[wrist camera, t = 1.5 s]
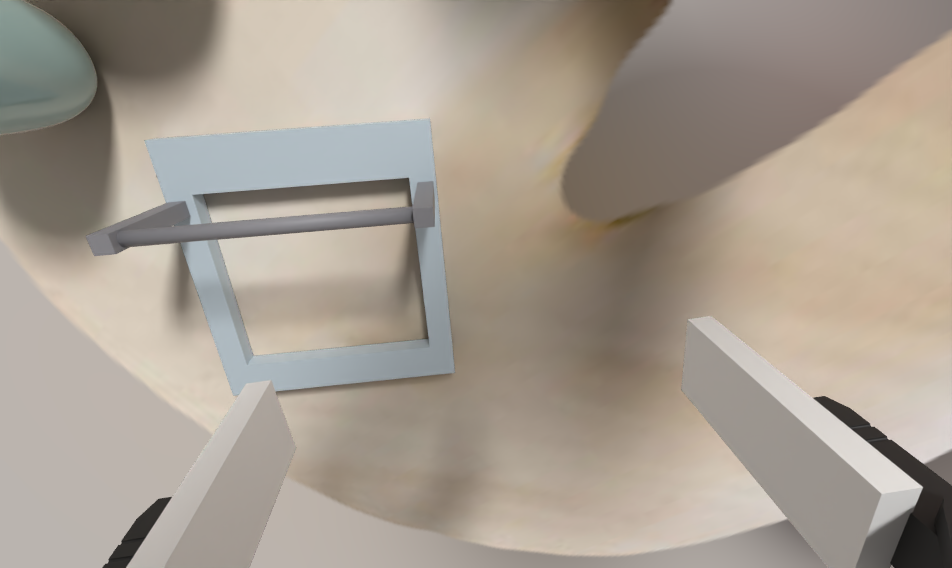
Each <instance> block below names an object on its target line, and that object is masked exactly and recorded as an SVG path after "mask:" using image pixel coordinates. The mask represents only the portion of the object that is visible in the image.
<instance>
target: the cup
mask: <svg viewBox="0 0 952 568" xmlns="http://www.w3.org/2000/svg"><path fill="white" fill-rule="evenodd" d="M97 85H98V83H97V74H96V70H95V67H94V64H93V62H92V60H91V58H90V56H89V54H88V52H87V51H86V49H85V48H84V46H83V45H82V43H81V42H80V41H79V40H78V39H77V38H76V36H75V35H74V34H73V33H72V32H71V31H70V30H69V29H68V28H67V27H66V26H65V25H64V24H63V23H62V22H60V21H59V20H57V19H56V18H55V17H53V16H52V15H50V14H49V13H47V12H46V11H45V10H43V9H41V8H39V7H37V6H35V5H33V4H31V3H29V2H27V1H25V0H0V135H8V134H16V133H22V132H28V131H34V130H39V129H44V128H49V127H52V126H56V125H58V124H61V123H63V122H66V121H68V120H71V119H73V118H74V117H76V116H77V115H79V114H80V113H82V112H83V111H84V110H86V108H87V107H88V106H89V105H90V104H91V102H92V100H93V98H94V96H95V94H96V90H97Z"/></svg>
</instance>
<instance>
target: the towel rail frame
mask: <svg viewBox="0 0 952 568" xmlns="http://www.w3.org/2000/svg"><path fill="white" fill-rule="evenodd" d="M144 141H145V144H146V147H147V149H148V152H149V155H150V158H151V161H152V164H153V167H154V169H155V172H156V175H157V178H158V181H159V184H160V187H161V190H162V192H163V195H164V198H165V201H166V204H163V205H161V206H158V207H156V208H153V209H151V210H148V211H146V212H143V213H141V214H139V215H136V216H134V217H131V218H129V219H126V220H124V221H121V222H119V223H116V224H114V225H111V226H109V227H106V228H104V229H102V230H99V231H97V232H94V233H92V234H89V235H87V236H86V238H87V241H88V243H89V245H90V247H91V250H92V252H93V254H94V256H100V255H112V254H117V253H119V252H121V251H123V250H125V249H127V248H129V247H136V246H147V245H159V244H171V243H180V244H181V247H182V250H183V253H184V255H185V258H186V261H187V264H188V267H189V270H190V273H191V275H192V278H193V281H194V284H195V287H196V290H197V293H198V296H199V298H200V301H201V304H202V307H203V310H204V313H205V316H206V318H207V321H208V324H209V327H210V330H211V333H212V336H213V339H214V341H215V344H216V347H217V350H218V353H219V356H220V359H221V361H222V364H223V367H224V370H225V373H226V376H227V379H228V382H229V384H230V387H231V390H232V393H233V396H235V395H239V394H240V392H241V391H242V389H243V388H244V386H245V385H246V384H247V383H254V382H261V381H267V380H271V381H272V383H273V386H274V389H275V391H283V390H293V389H303V388H312V387H322V386H332V385H342V384H351V383H361V382H371V381H380V380H390V379H400V378H409V377H419V376H429V375H438V374H448V373H455V367H454V356H453V346H452V336H451V326H450V316H449V306H448V295H447V285H446V275H445V265H444V255H443V245H442V235H441V225H440V215H439V204H438V194H437V184H436V174H435V164H434V154H433V144H432V134H431V124H430V119H418V120H404V121H390V122H376V123H362V124H348V125H335V126H321V127H307V128H293V129H279V130H266V131H252V132H238V133H224V134H210V135H197V136H183V137H169V138H156V139H150V140H144ZM398 178H409V182H410V190H411V198H412V207H399V208H387V209H375V210H363V211H351V212H339V213H327V214H315V215H303V216H291V217H279V218H267V219H254V220H242V221H230V222H218V223H212V222H211V218H210V215H209V212H208V209H207V206H206V202H205V199H204V196H203V194H209V193H222V192H234V191H247V190H259V189H272V188H285V187H297V186H310V185H323V184H335V183H348V182H360V181H373V180H386V179H398ZM407 223H414V227H415V231H416V239H417V247H418V255H419V263H420V271H421V279H422V287H423V296H424V304H425V312H426V320H427V328H428V336H429V339H421V340H411V341H401V342H391V343H381V344H371V345H360V346H350V347H340V348H330V349H320V350H310V351H300V352H290V353H279V354H269V355H259V356H253V353H252V350H251V346H250V343H249V340H248V337H247V334H246V330H245V327H244V324H243V321H242V318H241V314H240V311H239V308H238V305H237V302H236V298H235V295H234V292H233V289H232V286H231V282H230V279H229V276H228V273H227V270H226V266H225V263H224V260H223V257H222V254H221V250H220V247H219V244H218V241H217V240H218V239H230V238H242V237H254V236H265V235H277V234H289V233H301V232H313V231H324V230H336V229H348V228H360V227H372V226H383V225H395V224H407ZM173 225H174V226H173Z"/></svg>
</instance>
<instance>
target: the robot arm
mask: <svg viewBox="0 0 952 568" xmlns="http://www.w3.org/2000/svg"><path fill="white" fill-rule="evenodd" d="M681 390H682V391H683V393H684V394H685V395H686V396H687V397H688V399H689V400H690V401H691V402H692V403H693V405H694V406H695V407H696V408H697V409H698V411H699V412H700V413H701V414H702V416H703V417H704V418H705V419H706V420H707V422H708V423H709V424H710V425H711V426H712V428H713V429H714V430H715V431H716V432H717V434H718V435H719V436H720V437H721V439H722V440H723V441H724V442H725V443H726V445H727V446H728V447H729V448H730V449H731V451H732V452H733V453H734V454H735V455H736V457H737V458H738V459H739V460H740V461H741V463H742V464H743V465H744V466H745V468H746V469H747V470H748V471H749V472H750V474H751V475H752V476H753V477H754V478H755V480H756V481H757V482H758V483H759V484H760V486H761V487H762V488H763V489H764V491H765V492H766V493H767V494H768V495H769V497H770V498H771V499H772V500H773V501H774V503H775V504H776V505H777V506H778V507H779V509H780V510H781V511H782V512H783V513H784V515H785V516H786V517H787V518H788V520H789V521H790V522H791V523H792V524H793V526H794V527H795V528H796V529H797V530H798V532H799V533H800V534H801V535H802V536H803V538H804V539H805V540H806V541H807V542H808V544H809V545H810V546H811V547H812V549H813V550H814V551H815V552H816V553H817V555H818V556H819V557H820V558H821V559H822V561H823V562H824V563H825V564H826V565H827V567H828V568H890V567H891V565H893V567H894V568H952V486H951V485H950V484H949V483H948V482H946V481H945V480H944V479H942V478H941V477H940V476H938V475H937V474H936V473H934V472H933V471H932V470H930V469H929V468H928V467H926V466H925V465H924V464H923V463H921V462H920V461H919V460H917V459H916V458H915V457H913V456H912V455H911V454H909V453H908V452H907V451H905V450H904V449H903V448H902V447H900V446H899V445H898V444H896V443H895V442H894V441H892V440H888V439H887V436H886V435H884V434H883V433H882V432H881V431H879V430H878V429H877V428H875V427H871V426H870V423H869V422H867V421H866V420H865V419H863V418H862V417H861V416H860V415H858V414H857V413H856V412H854V411H853V410H852V409H850V408H849V407H846V406H844V405H842V404H840V403H838V402H836V401H834V400H832V399H830V398H828V397H826V396H822V397H815V398H812V397H811V396H810V395H808V394H807V393H806V392H805V391H803V390H802V389H801V388H800V387H798V386H797V385H796V384H795V383H794V382H792V381H791V380H790V379H789V378H787V377H786V376H785V375H784V374H782V373H781V372H780V371H779V370H777V369H776V368H775V367H774V366H773V365H771V364H770V363H769V362H768V361H766V360H765V359H764V358H763V357H761V356H760V355H759V354H758V353H756V352H755V351H754V350H753V349H752V348H750V347H749V346H748V345H747V344H745V343H744V342H743V341H742V340H740V339H739V338H738V337H737V336H735V335H734V334H733V333H732V332H731V331H729V330H728V329H727V328H726V327H724V326H723V325H722V324H721V323H719V322H718V321H717V320H716V319H714V318H713V317H712V316H707V317H700V318H693V319H688V321H687V332H686V343H685V354H684V365H683V377H682V388H681ZM295 450H296V445H295V443H294V440H293V437H292V435H291V432H290V429H289V427H288V424H287V421H286V418H285V416H284V413H283V410H282V408H281V405H280V402H279V400H278V397H277V394H276V391H275V389H274V386H273V383H272V381H271V380H267V381H261V382H254V383H247V384H246V385H245V386H244V388H243V389H242V391H241V392H240V394H239V395H238V397H237V398H236V400H235V402H234V403H233V405H232V406H231V408H230V409H229V411H228V412H227V414H226V415H225V417H224V418H223V420H222V421H221V423H220V425H219V426H218V428H217V429H216V431H215V432H214V434H213V435H212V437H211V438H210V440H209V441H208V443H207V444H206V446H205V448H204V449H203V451H202V452H201V454H200V455H199V457H198V458H197V460H196V461H195V463H194V464H193V466H192V468H191V469H190V471H189V472H188V474H187V475H186V477H185V478H184V480H183V481H182V483H181V484H180V486H179V488H178V489H177V491H176V492H175V494H174V495H173V497H168V498H162V499H158V500H157V501H156V502H155V503H154V504H152V505H151V506H150V507H149V508H148V509H147V510H146V511H145V512H144V513H143V514H142V515H141V516H139V517H138V518H137V519H136V521H135V522H134V524H133V525H132V527H131V528H130V530H129V531H128V532H127V534H126V535H125V536H124V538H123V540H122V544H121V545H118V547H117V548H116V549H115V551H114V552H113V554H112V555H111V556H110V558H109V562H108V564H105V565H104V566H103V568H249V567H250V565H251V562H252V560H253V557H254V555H255V552H256V549H257V547H258V544H259V542H260V539H261V537H262V534H263V531H264V529H265V527H266V524H267V521H268V519H269V516H270V514H271V511H272V509H273V506H274V503H275V501H276V499H277V496H278V493H279V491H280V488H281V486H282V483H283V480H284V478H285V476H286V473H287V470H288V468H289V465H290V463H291V460H292V458H293V455H294V453H295Z"/></svg>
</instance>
